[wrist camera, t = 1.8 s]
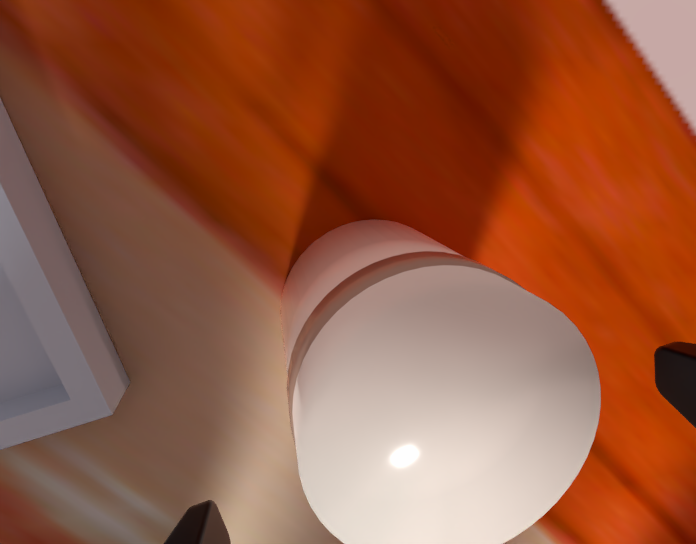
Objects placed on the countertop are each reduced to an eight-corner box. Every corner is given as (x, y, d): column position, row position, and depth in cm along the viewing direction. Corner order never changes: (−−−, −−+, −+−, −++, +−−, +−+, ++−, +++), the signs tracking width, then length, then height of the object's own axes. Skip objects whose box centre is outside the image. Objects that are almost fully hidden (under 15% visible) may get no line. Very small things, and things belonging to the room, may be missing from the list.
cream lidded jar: (469, 359, 16) (611, 506, 10) (307, 411, 16) (341, 608, 9) (440, 196, 14) (592, 239, 8) (254, 247, 14) (248, 344, 7)
